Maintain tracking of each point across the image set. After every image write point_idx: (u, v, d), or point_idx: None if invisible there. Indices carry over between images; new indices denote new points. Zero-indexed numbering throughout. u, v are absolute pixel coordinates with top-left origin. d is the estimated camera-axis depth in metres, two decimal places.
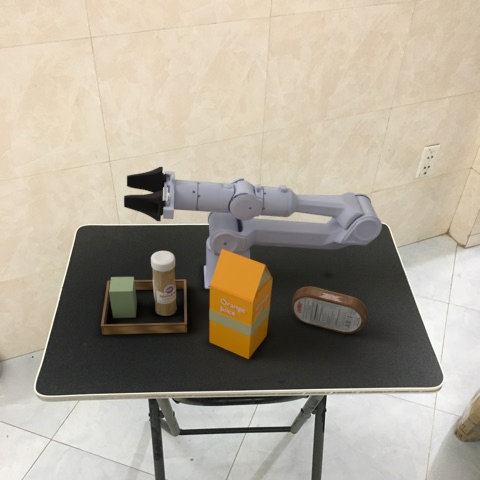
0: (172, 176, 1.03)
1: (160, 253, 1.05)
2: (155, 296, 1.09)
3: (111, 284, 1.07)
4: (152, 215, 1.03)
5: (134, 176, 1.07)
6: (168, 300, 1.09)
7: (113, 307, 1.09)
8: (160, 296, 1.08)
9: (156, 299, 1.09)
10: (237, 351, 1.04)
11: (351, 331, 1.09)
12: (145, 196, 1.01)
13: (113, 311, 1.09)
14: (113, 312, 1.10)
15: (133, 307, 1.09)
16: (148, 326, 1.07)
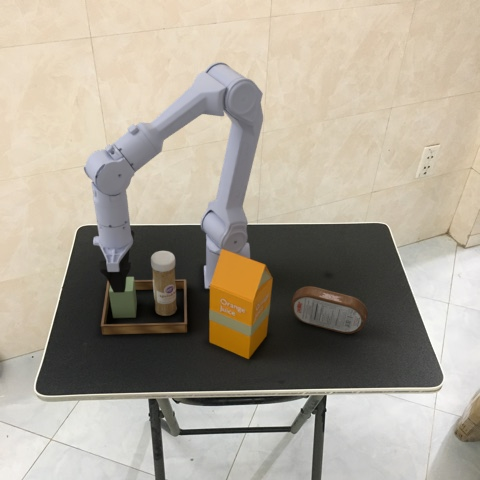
0: None
1: (160, 253, 1.05)
2: (155, 296, 1.09)
3: None
4: (124, 274, 0.99)
5: None
6: (168, 300, 1.09)
7: (113, 307, 1.09)
8: (160, 296, 1.08)
9: (156, 299, 1.09)
10: (237, 351, 1.04)
11: (351, 331, 1.09)
12: None
13: (113, 311, 1.09)
14: (113, 312, 1.10)
15: (133, 307, 1.09)
16: (148, 326, 1.07)
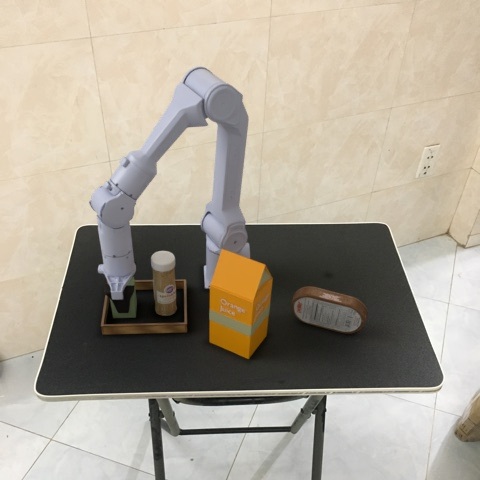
0: None
1: (160, 253, 1.05)
2: (155, 296, 1.09)
3: None
4: (128, 297, 1.05)
5: None
6: (168, 300, 1.09)
7: (113, 307, 1.09)
8: (160, 296, 1.08)
9: (156, 299, 1.09)
10: (237, 351, 1.04)
11: (351, 331, 1.09)
12: None
13: (113, 311, 1.09)
14: (113, 312, 1.10)
15: (133, 307, 1.09)
16: (148, 326, 1.07)
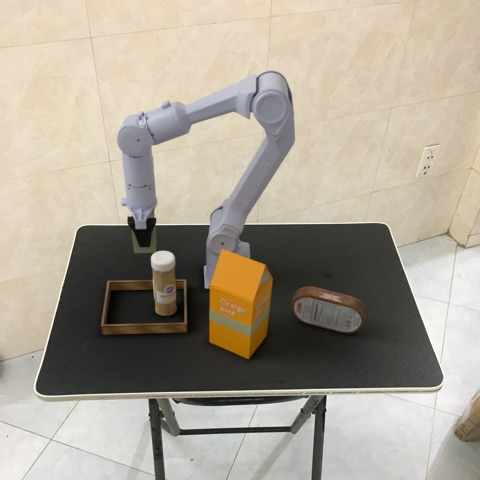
0: (121, 203, 1.08)
1: (160, 253, 1.05)
2: (155, 296, 1.09)
3: None
4: (150, 228, 1.08)
5: None
6: (168, 300, 1.09)
7: (134, 241, 1.12)
8: (160, 296, 1.08)
9: (156, 299, 1.09)
10: (237, 350, 1.04)
11: (351, 331, 1.09)
12: None
13: (134, 246, 1.13)
14: (134, 247, 1.13)
15: (154, 241, 1.13)
16: (148, 326, 1.07)
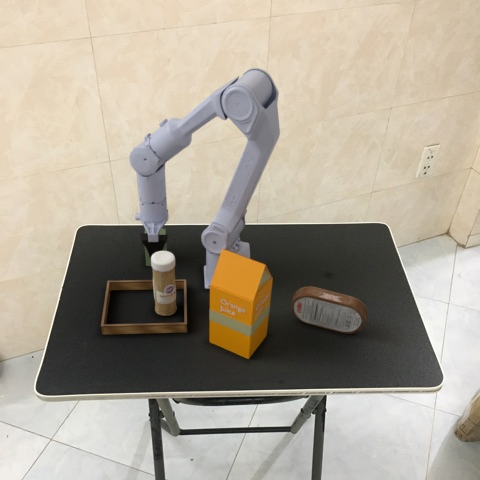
0: (135, 217, 1.17)
1: (160, 253, 1.05)
2: (155, 296, 1.09)
3: None
4: (161, 245, 1.16)
5: None
6: (168, 300, 1.09)
7: (147, 255, 1.22)
8: (160, 296, 1.08)
9: (156, 299, 1.09)
10: (237, 350, 1.04)
11: (351, 331, 1.09)
12: None
13: (147, 259, 1.22)
14: (147, 260, 1.22)
15: None
16: (148, 326, 1.07)
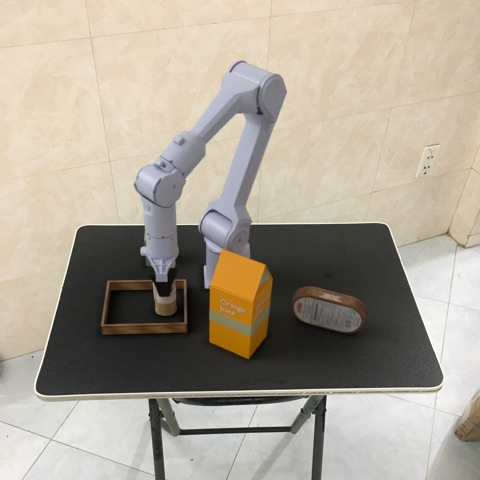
0: None
1: None
2: (155, 296, 1.09)
3: (145, 234, 1.20)
4: (171, 279, 1.03)
5: None
6: (168, 300, 1.09)
7: None
8: None
9: (156, 299, 1.09)
10: (237, 350, 1.04)
11: (351, 331, 1.09)
12: None
13: (147, 259, 1.22)
14: (147, 260, 1.22)
15: None
16: (148, 326, 1.07)
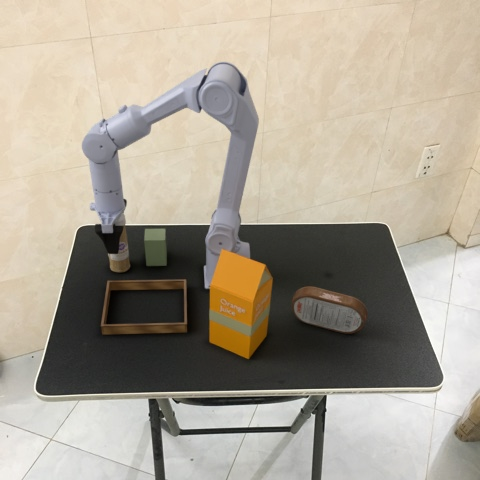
0: None
1: None
2: None
3: (145, 234, 1.20)
4: (117, 236, 1.11)
5: None
6: (120, 257, 1.18)
7: (147, 255, 1.22)
8: None
9: (110, 256, 1.19)
10: (237, 351, 1.04)
11: (351, 331, 1.09)
12: None
13: (147, 259, 1.22)
14: (147, 260, 1.22)
15: (165, 255, 1.22)
16: (148, 326, 1.07)
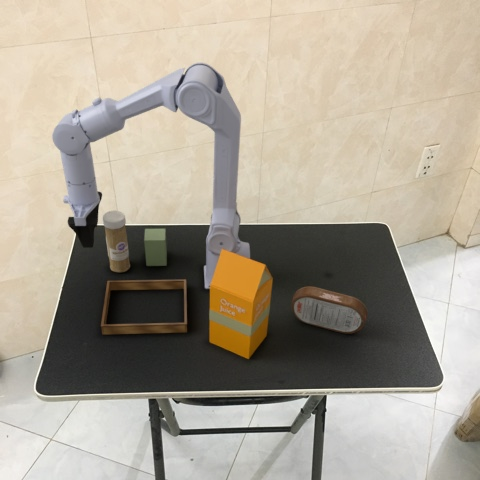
0: None
1: (112, 213, 1.14)
2: (109, 253, 1.19)
3: (145, 234, 1.20)
4: (91, 229, 1.09)
5: None
6: (120, 257, 1.18)
7: (147, 255, 1.22)
8: (113, 253, 1.18)
9: (110, 256, 1.19)
10: (237, 351, 1.04)
11: (351, 331, 1.09)
12: None
13: (147, 259, 1.22)
14: (147, 260, 1.22)
15: (165, 255, 1.22)
16: (148, 326, 1.07)
